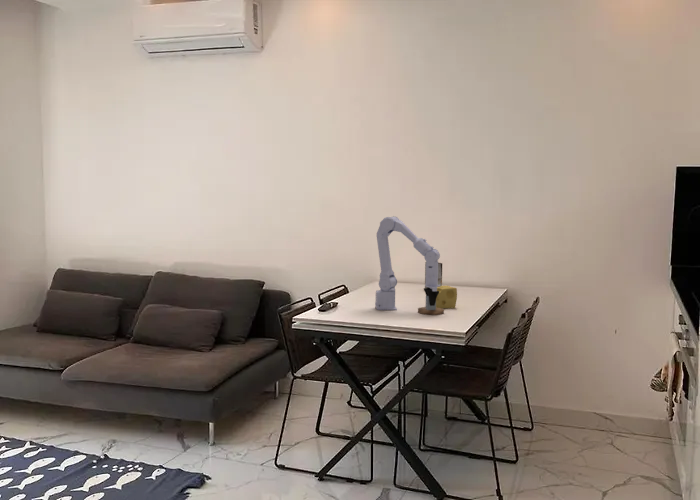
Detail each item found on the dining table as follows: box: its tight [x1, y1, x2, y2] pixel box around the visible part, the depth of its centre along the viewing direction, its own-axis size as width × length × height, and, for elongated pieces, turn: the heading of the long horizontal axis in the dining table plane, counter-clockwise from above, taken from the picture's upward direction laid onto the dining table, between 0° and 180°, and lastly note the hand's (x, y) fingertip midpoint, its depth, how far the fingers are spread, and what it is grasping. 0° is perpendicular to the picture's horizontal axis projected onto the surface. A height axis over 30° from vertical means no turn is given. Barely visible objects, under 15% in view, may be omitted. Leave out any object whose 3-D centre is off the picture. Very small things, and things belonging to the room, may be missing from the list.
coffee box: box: [424, 261, 443, 288], centre depth 379 cm, size 9×6×16 cm
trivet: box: [417, 306, 445, 316], centre depth 314 cm, size 12×12×2 cm
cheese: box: [436, 285, 458, 309], centre depth 329 cm, size 10×11×10 cm
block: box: [424, 295, 436, 310], centre depth 313 cm, size 4×4×6 cm
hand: (431, 304), depth 313 cm, fingers open, 5 cm apart
